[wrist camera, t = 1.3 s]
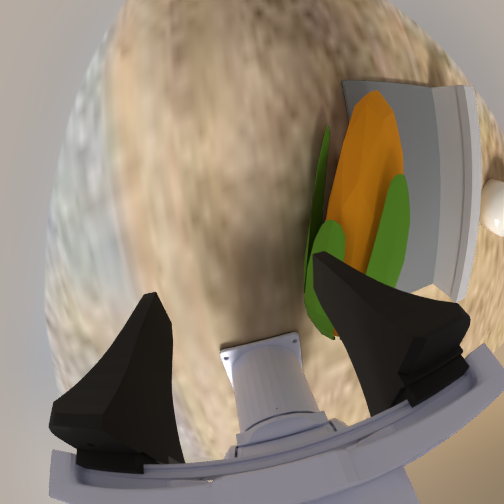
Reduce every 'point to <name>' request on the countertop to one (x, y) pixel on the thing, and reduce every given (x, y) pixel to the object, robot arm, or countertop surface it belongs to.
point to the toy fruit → (361, 203)
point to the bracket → (435, 179)
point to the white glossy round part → (492, 206)
